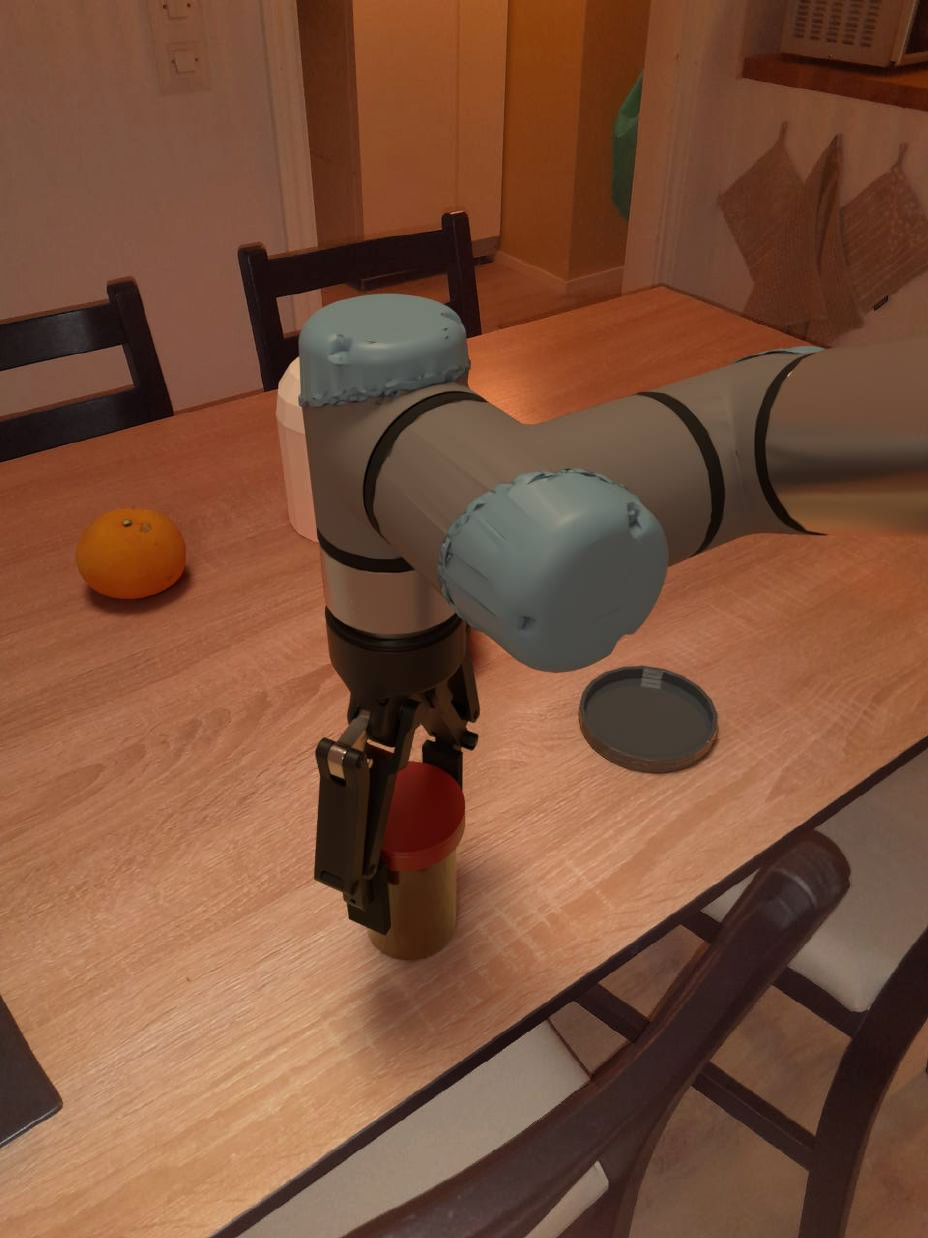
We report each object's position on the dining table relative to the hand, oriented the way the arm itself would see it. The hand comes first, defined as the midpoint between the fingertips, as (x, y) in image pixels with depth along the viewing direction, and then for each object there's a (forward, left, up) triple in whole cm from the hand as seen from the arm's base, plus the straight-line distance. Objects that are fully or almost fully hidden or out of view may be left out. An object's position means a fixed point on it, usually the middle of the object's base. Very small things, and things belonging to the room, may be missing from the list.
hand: (408, 865), depth 65 cm
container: (+54, -12, -6) cm, 56 cm away
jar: (0, 0, -6) cm, 6 cm away
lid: (0, 0, +6) cm, 6 cm away
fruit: (+49, +12, -6) cm, 51 cm away
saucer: (+11, -26, -6) cm, 29 cm away
